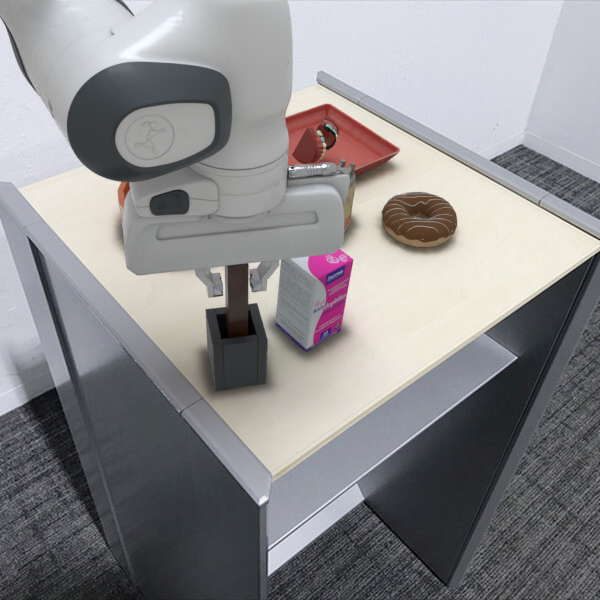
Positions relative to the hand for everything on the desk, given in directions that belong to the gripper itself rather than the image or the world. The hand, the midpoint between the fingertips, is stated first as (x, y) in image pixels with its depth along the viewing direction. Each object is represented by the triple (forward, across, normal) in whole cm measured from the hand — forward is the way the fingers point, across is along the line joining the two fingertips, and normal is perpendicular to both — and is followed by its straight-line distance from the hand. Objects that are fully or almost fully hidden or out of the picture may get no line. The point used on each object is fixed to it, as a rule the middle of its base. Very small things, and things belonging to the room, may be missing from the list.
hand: (236, 290), depth 66 cm
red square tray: (+12, -20, -40) cm, 47 cm away
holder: (+12, 0, 0) cm, 12 cm away
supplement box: (+12, -9, -4) cm, 16 cm away
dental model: (+6, -22, -39) cm, 45 cm away
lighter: (+12, -17, -22) cm, 31 cm away
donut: (+12, -29, -20) cm, 38 cm away
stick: (+12, 0, 0) cm, 12 cm away
